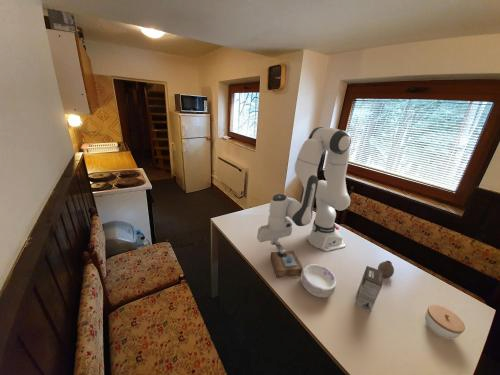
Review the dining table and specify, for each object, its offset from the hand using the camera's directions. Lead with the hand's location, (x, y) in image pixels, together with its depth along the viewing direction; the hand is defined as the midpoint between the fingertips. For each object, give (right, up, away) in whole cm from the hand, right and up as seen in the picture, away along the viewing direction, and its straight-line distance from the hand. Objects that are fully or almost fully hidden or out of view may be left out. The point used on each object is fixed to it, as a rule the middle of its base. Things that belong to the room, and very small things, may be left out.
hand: (273, 244), depth 113 cm
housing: (+6, -11, -6) cm, 13 cm away
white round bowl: (+19, -16, -17) cm, 30 cm away
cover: (+7, -7, -9) cm, 14 cm away
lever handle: (+3, -3, -2) cm, 5 cm away
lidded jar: (+62, -26, -32) cm, 75 cm away
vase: (+57, -14, -7) cm, 60 cm away
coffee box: (+38, -20, -22) cm, 49 cm away
